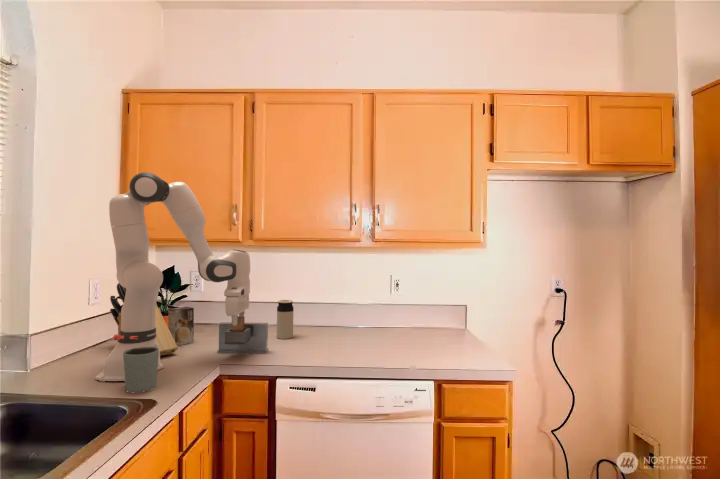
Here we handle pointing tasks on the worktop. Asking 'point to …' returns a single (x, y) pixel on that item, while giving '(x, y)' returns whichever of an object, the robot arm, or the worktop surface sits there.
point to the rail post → (239, 324)
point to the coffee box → (181, 324)
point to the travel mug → (285, 319)
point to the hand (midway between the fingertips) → (238, 323)
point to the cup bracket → (243, 338)
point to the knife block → (163, 333)
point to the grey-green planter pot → (140, 368)
